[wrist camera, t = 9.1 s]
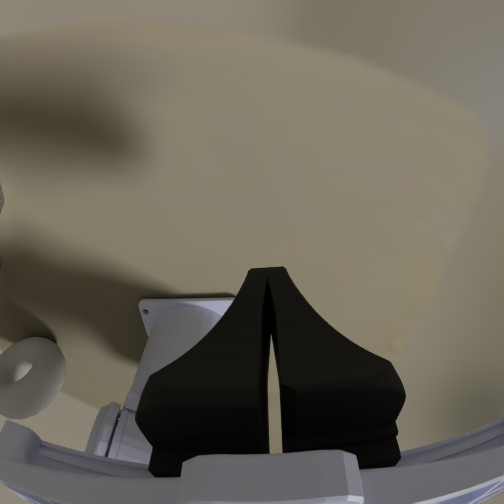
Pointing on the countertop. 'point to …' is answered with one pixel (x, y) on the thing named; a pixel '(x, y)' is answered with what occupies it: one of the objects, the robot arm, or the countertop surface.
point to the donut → (30, 377)
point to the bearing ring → (1, 199)
